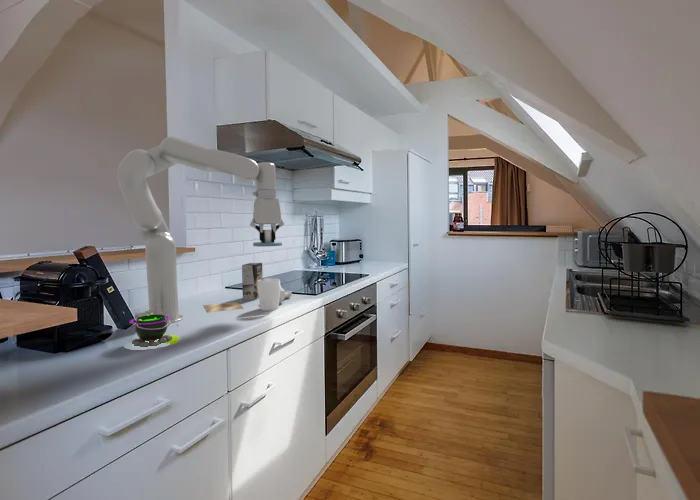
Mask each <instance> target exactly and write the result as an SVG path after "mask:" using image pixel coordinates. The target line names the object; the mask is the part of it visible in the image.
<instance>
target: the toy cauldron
mask: <svg viewBox="0 0 700 500" xmlns="http://www.w3.org/2000/svg"><path fill="white" fill-rule="evenodd" d="M147 306H148V307H147ZM146 307H147V310H148V309H149V308H151V307H149V304H147V305H146ZM155 307H156V306H155ZM164 310H165V309H164ZM141 311H144V310H141ZM139 312H140V311H137V312H135V313H134V315H135V314H137V313H139ZM160 313H162V312H160ZM151 314H153V313H151ZM151 314H150V315H149V314H147V315H146V316H142V317H138V318H135V317H134V318H133V319H131V320H129V323H130V324H132V325H134V331H135V333H136V335H137V337H138V339H137V338H134V339H131V340H132V344H134V346H140V347H148V346H157V345H159V344H161V343H167V344H168V343H170V345H171V346H172V344H173V345H175V344H178V342H179V341H180V337H179V336H177V335H174V334H166V332H167V330H168V326H169V325H170V324H171V323H170V318H172V316H171V317H170V316H168V315H167V316H166V315H151ZM165 317H166V318H168V319H166V318H165ZM167 320H169V323H170V324H169V323H168V324H167ZM134 321H135V322H134ZM157 339H159V340H158V341H157V342H154V341H155V340H157ZM145 341H149V343H148V342H145Z"/></svg>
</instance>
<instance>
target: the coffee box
mask: <svg viewBox="0 0 700 500" xmlns="http://www.w3.org/2000/svg"><path fill="white" fill-rule="evenodd" d="M241 277H242V279H241V281H242V283H241V284H242V285H241V287H242V301H256V300H259V295H258V289H257V285H258V280H259V279H264V278H263V262H249V263H245V264H242V265H241Z"/></svg>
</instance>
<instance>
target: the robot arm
mask: <svg viewBox="0 0 700 500" xmlns="http://www.w3.org/2000/svg"><path fill="white" fill-rule="evenodd" d="M177 164H180V165H183V166H186V167H189V168H190V167H191V168H192V169H197V170H199V171H204V172H210V173H211V172H213V173H215V172H216V173H217V172H218V173H223V174H228V175H232V176H234V177H235V179H236V180H238V181H239V182H242V183H249V182H250V183H252V182H255V189H256V190H255V191H253V192H252V196H255V197H256V198H255V199H254V202H253V211H252V212H253V217H252V219H251V221H250V223H249V226H250V227H252V228H254V229H255V230H256V231H258V233H259V242H261V243H264V242H265V235H264V232H263V230H264V225H270V227H271V229H270V230H271V233H272V242H275V241H276V233H277V231H278V230H279V229H280V228H282V227H283V226H284V225H285V223H284V221H283V220H282V214H281V213H282V212H281V206H280V205H281V204H280V200H279V198H277V183H276V182H277V181H276V165H275V164H274V163H272V162H258V163H257V162H256V161H255V160H253V159H251V158H249V157H245V156H243V155H240V154H236V153H232V152H229V151H225V150H220V149H216V148H211V147H207V146H204V145H201V144H198V143H196V142H195V143H194V142H192V141H189V140H186V139H184V138H179V137H176V136H167V137H165V138H163V140H162V141H161V143H160V144H159V145H157V146H154V147H152V148H150V149H147V150H145V149H139V148H137V149H134V150H131V151H129V152H128V153H127V154H126V155H125V156H124V157H123V158H122V160H121V161H120V163H119V166H118V167H117V168H118V169H117V182H118V187H119V189H120V192H121V194H122V197H123V199H124V201H125V205H126V206H127V208H128V211H129V213H130V215H131V219H132V221H133V224H134V225H135V228H136V229H137V231H138V233H139V235H140V237H141V239H142V241H143V243H144V247H145V248H144V249H145V251H144V252H145V263H146V265H145V266H146V279H147V298H148V301H147V302H148V308H149V307H151V308H149V309H148V308H147V310H144V312H141V311H139V312H137V314H135V313H134V319H135V318H136V319H137V318H138V317H142V316H146V315H147V314H149V315H150V314H151V313H153V314H151V315H166V316H167V315H168V316H170V317H171V316H172V318H170V323H169V320H167V324H168V323H169V325H170V324H174V323H177V322H181V321H183V320H184V315H182V314H180V313H179V294H178V293H179V292H178V291H179V290H178V275H177V274H178V273H177V272H178V271H177V246H176V241H175V239H174V238H173V237H172V235H171V232H170V230H169V227H168V226H167V223H166V220H165V218H164V217H163V214H162V211H161V210H160V208H159V207H158V205H157V203H156V201H155V198H154V197H153V194H152V192H151V189H150V187H149V184H148V182H147V178H149V177H151V176H153V175H155V174H157V173H160V172H162V171H165V170H167V169H169V168H171V167H173V166H175V165H177ZM155 306H156V307H155ZM164 309H165V310H164ZM160 312H162V313H160ZM165 318H166V317H165ZM166 319H168V318H166Z"/></svg>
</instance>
